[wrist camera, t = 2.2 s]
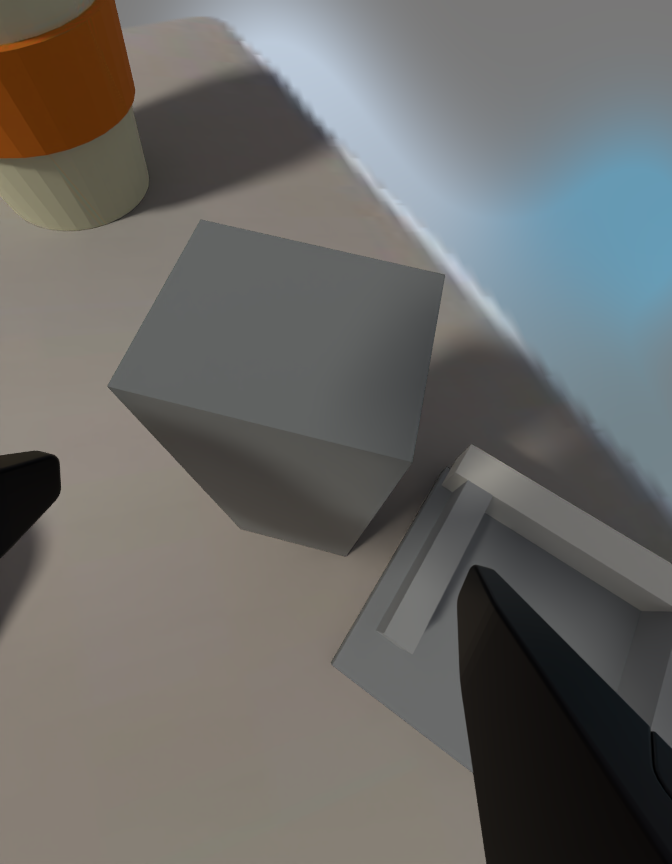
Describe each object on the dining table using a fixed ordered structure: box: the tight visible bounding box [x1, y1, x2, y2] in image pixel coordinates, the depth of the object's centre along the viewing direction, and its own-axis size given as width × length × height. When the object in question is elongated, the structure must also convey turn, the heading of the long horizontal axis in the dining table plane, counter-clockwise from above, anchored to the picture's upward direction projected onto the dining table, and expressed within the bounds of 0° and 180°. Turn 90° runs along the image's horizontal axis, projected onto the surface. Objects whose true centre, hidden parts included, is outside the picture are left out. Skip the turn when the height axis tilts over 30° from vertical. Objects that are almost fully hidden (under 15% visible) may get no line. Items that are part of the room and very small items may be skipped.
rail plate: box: [331, 444, 672, 773], centre depth 16 cm, size 11×12×3 cm
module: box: [107, 220, 445, 556], centre depth 13 cm, size 4×5×13 cm
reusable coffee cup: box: [0, 0, 149, 231], centre depth 20 cm, size 13×12×15 cm
